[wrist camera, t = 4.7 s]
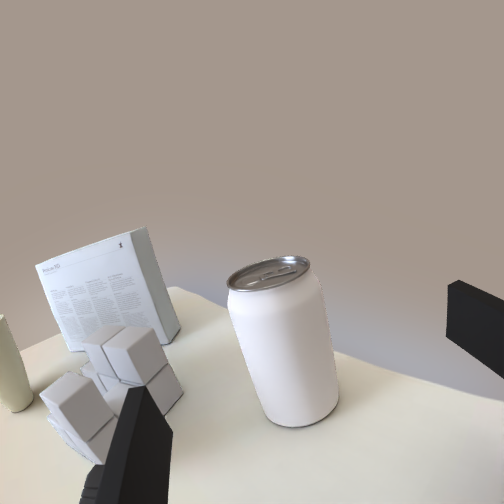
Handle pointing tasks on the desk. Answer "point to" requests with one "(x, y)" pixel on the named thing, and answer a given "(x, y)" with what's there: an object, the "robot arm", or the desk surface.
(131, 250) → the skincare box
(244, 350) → the can
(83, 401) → the stacked white cubes
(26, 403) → the mug
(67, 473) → the desk surface
